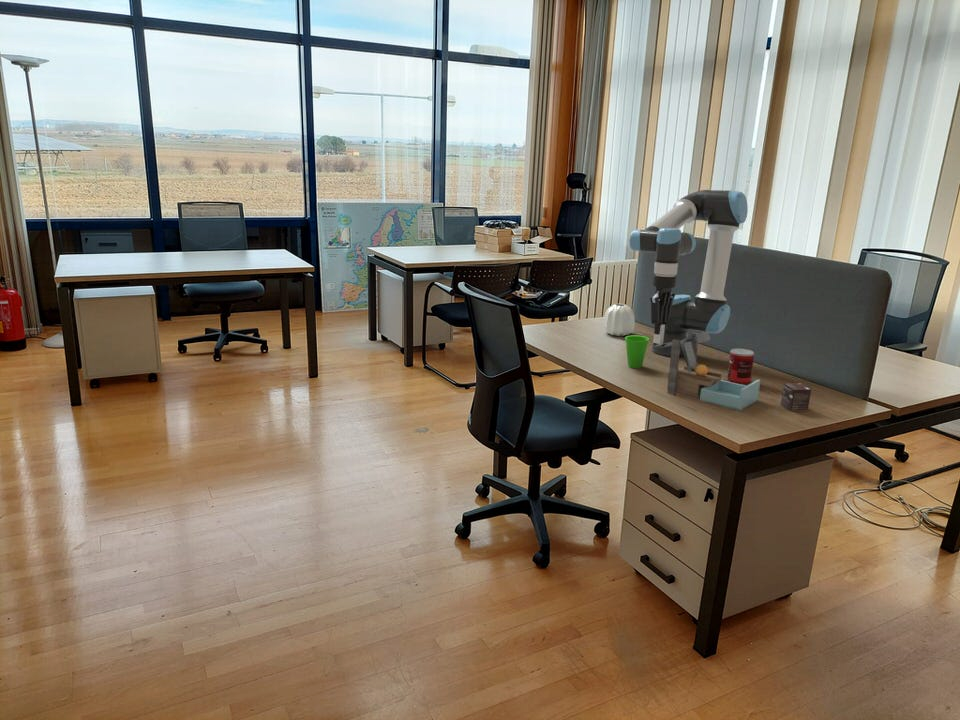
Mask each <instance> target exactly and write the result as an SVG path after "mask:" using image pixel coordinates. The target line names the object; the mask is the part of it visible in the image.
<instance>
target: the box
mask: <svg viewBox="0 0 960 720" xmlns="http://www.w3.org/2000/svg"><path fill="white" fill-rule="evenodd" d="M811 392H812V389H811V388H810V387H809V386H807V385H805V384H803V383H802V382H799V383H798V382H795V383H794V382H793V383H792V382H791V383H790V382H789V383H783V389H782V394H781V395H782V396H781V402H780V405H781V406H782V407H784V408H785V409H787V410H788V411H790V412H803V411H804V412H806V411H809V406H810V399H811V394H812V393H811Z"/></svg>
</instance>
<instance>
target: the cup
mask: <svg viewBox="0 0 960 720" xmlns="http://www.w3.org/2000/svg"><path fill="white" fill-rule="evenodd" d="M624 340H625V346H626V355H627V357H626V358H627V365H628V367H629V368H632V369H640V368H642V367H643V365H644V361H645V356H646V351H647V347H648V343H649V341H650V340H651V339H650V338H649V337H648V336H643V335H638V334H635V335H633V334H632V335H631V334H629V335H625V337H624Z"/></svg>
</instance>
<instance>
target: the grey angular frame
mask: <svg viewBox="0 0 960 720" xmlns="http://www.w3.org/2000/svg"><path fill="white" fill-rule="evenodd" d="M698 333H699V332H695V331H691V332H690V336H689V337H691V336H694V337H696V334H698ZM680 342H681V341H680V340H675V339H673V340H672V348H671V356H670V358H669V359H670V360H669V362H670V363H669V370H668V371H669V372H668V374H667V375H668V377H667V394H670V395H676V394H677V393H680V394H684V395H689V396H692V397H696V398H698V397H700V394H701V389H702V388H704V387H706V386H709V387H711V386H713V385H715V384H717V383H718V382H720V381H721V380H722V375H723V374H722V373H719V372H718V373H717V372H715V371H709V370H708V373H707V374H706V375H705V376H702V377H701V376H698V375H697V374H696V372H695V371H692V372H688V368H687V365H685V366H684V368H683V367H679V362H680V356H679V353H680ZM691 344H692V348H693V351H694V355H695V359H696V360H697V357H698V356H697V355H698V347H699V343H698V341H697V340H695V341H691Z"/></svg>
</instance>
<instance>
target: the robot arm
mask: <svg viewBox="0 0 960 720" xmlns="http://www.w3.org/2000/svg"><path fill="white" fill-rule="evenodd" d="M746 197H747V196H746V195H745V194H744V193H743V192H741V191H738V190H715V189H712V190H711V189H702V190H698V191H694V192H692V193H689V194H687V195H685V196H683V197H682V198H680V199H678V200H677V201H676V202H675V203H674V205H673V207H672V208H671V209H670V210H669V211H667V212H666V213H665V214H663V215H661V217H659V218H658V219H656V220H655V221H654V222H652V223H651V224H650V225H649V226H647V227H646V228H645V229H641V228H640V229H634V230H632V232H630V235H629V240H628V242H629V248H630V249H631V250H633V251H635V252H636V251H637V252H639V253H641V252H642V253H644V252H645V253H653V254H654V253H655V260H654V265H653V266H654V269H653V270H654V271H653V273H654V275H653V277H652V278H653V279H652V286H653V287H655V290H654V295H653V296H650V298H649V300H650V311H651V312H650V315H651V316H650V317H651V318H650V319H651V321H650V322H651V324H652V325H654V330H653V341H652V346H651V351H652V352H653V353H655V354H657V355H660V356H661V355H662V356H667V357H671V348H672V346H667V347H662V348H656V349H653V348H652V347H653V346H656V345H658V344H662V343H667V342H669V343H670V342H672V340H673V339H675V340H683V339H686V338H688V337H689V336H688V331H689V330H691V331H694V332H695V331H697V332H700V333H701V332H706V331H708V332H709V334H719V333H721V332H723V330H725V328H726V327H727V324H728V322H729V320H730V316H731V307H730V306H729V305H728V304H727V298H726V297H725V295H724V291H725V287H726V281H727V274H728V270H729V269H728V268H729V265H730V257H731V252H732V246H733V241H734V236H735V235H734V233H735V232H736V231H738V230H739V229H740V224H744V223H745V222H746V220H747V216H748V210H749V209H748V207H749V206H748V201H747V198H746ZM693 221H705V222H707V223H706V226H707V227H708V229H709V237H708V242H707V243H708V244H707V249H706V256H705V261H704V268H703V271H702V272H703V274H702V280H701V284H700V285H701V286H700V291H699V293H698V294H696V295H695V297H694V300H693V299H692V296H691V295H689V294H676V293H673V291H672V288H673V289H674V288H675V287H676V284H677V275H678V267H679V257H680V256H686V255H687V256H688V254H690V253H692V252H693V251H694V250H695V249H696V247H697V241H696V238H695V236H694V235H693V234H692V233H691V232H682V231H681V228H682V227H683V226H684V225H686V224H690V223H692V222H693ZM679 357H684V353H683V350H682V346H681V345H680V353H679Z"/></svg>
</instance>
